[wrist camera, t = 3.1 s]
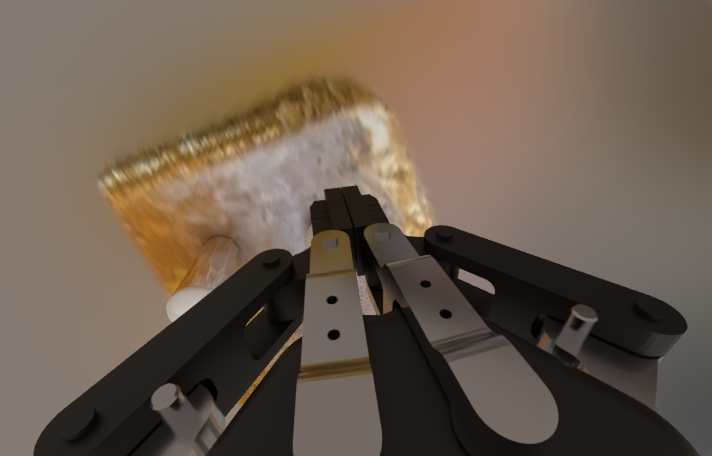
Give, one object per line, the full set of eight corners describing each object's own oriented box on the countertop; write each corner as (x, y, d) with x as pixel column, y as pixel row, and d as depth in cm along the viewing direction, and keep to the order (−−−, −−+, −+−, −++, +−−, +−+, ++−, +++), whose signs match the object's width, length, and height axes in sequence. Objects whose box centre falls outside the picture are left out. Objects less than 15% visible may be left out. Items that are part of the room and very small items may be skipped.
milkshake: (181, 256, 29) (136, 343, 20) (215, 221, 28) (181, 298, 19) (222, 278, 31) (197, 364, 23) (255, 247, 30) (240, 326, 21)
